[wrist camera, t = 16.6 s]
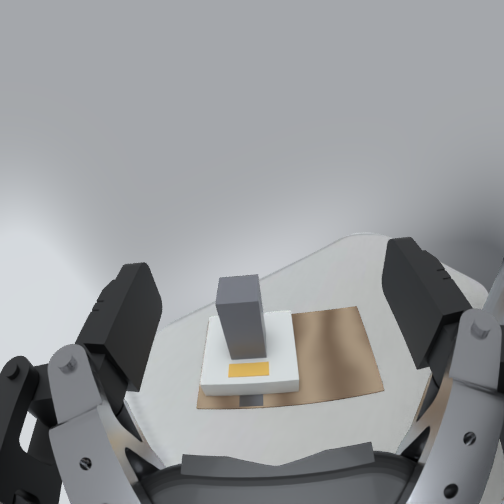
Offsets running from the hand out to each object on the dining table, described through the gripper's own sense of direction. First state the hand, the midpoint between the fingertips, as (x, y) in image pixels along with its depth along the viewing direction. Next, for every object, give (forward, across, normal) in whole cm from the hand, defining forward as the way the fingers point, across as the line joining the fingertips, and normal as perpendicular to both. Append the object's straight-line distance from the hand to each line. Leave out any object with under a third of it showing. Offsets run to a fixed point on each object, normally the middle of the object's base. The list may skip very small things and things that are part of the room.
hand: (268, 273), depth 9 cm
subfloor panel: (+17, -1, +28) cm, 33 cm away
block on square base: (+17, +4, +28) cm, 33 cm away
